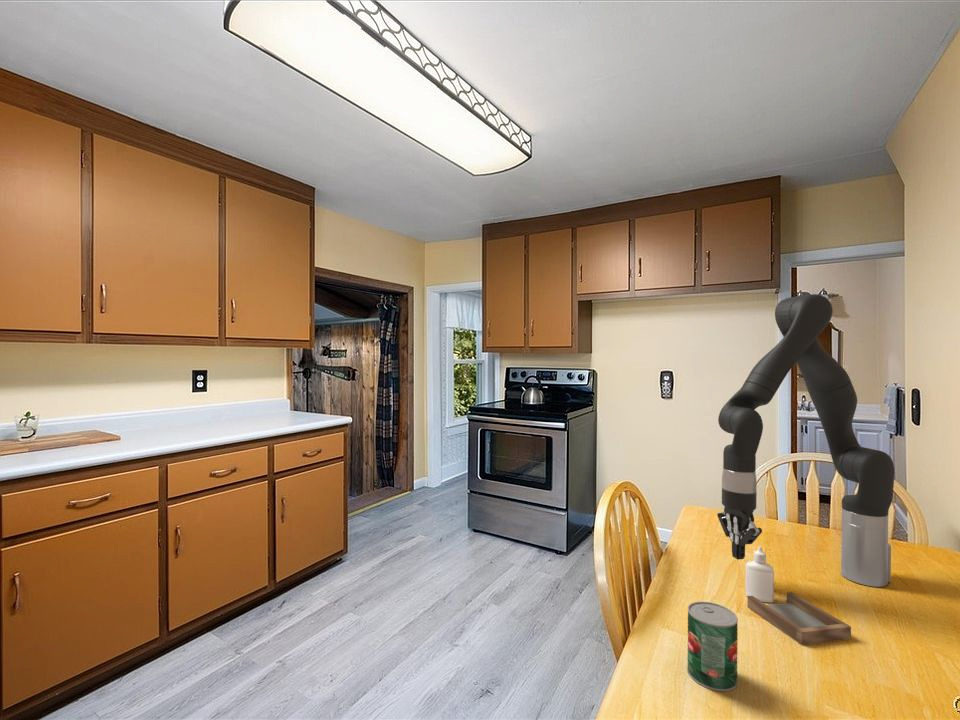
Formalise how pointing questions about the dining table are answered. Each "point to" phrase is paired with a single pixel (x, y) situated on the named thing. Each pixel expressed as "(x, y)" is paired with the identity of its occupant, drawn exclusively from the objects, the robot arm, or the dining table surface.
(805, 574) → the dining table surface
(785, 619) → the u rest
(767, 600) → the eye dropper bottle
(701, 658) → the canned tomato
